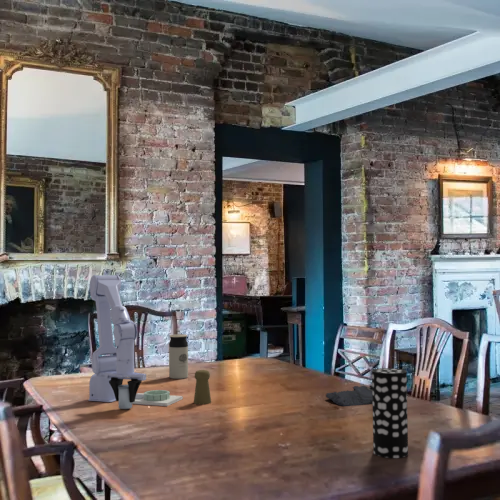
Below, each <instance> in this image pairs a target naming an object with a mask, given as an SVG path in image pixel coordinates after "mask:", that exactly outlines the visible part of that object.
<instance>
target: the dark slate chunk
mask: <svg viewBox="0 0 500 500" xmlns="http://www.w3.org/2000/svg"><path fill="white" fill-rule="evenodd" d="M325 397H326V398H327V399H328V400H330V401H332V402H333V403H334V404H336V405H337V406H340V407H353V406H355V407H356V406H364V405H365V406H366V405H373V400H372V384H371V385H369V386H365V385H361V386H358V385H354V386H353V387H352V390H342V391H338V392H337V391H334V392H327V393H326V394H325Z"/></svg>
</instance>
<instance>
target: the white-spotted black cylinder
mask: <svg viewBox="0 0 500 500" xmlns="http://www.w3.org/2000/svg"><path fill="white" fill-rule="evenodd" d="M407 375H408V373H407V370H405V369H401V368H394V367H393V368H391V367H390V368H388V367H387V368H386V367H384V368H383V367H382V368H374V369H372V370H371V382H372V383H371V385H372V400H373V404H372V439H373V440H372V444H373V445H372V446H373V447H372V448H373V449H372V452H373V455H376V456H377V457H381V458H385V459H400V458H401V459H402V458H405V457H407V456H408V455H409V436H408V435H409V433H408V430H409V429H408V427H409V426H408V424H409V423H408V386H407V385H408V384H407V383H408V379H407V378H408V377H407Z"/></svg>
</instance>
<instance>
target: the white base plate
mask: <svg viewBox="0 0 500 500" xmlns="http://www.w3.org/2000/svg"><path fill="white" fill-rule="evenodd" d="M170 393H171V392H170V391H169V390H164V389H155V390H154V389H152V390H148V391H147V390H146V391H145V392H142V393H139V392H137V393H136V397H135V401H134V402H132V405H144V406H145V405H147V406H160V407H169V406H170V405H172V404H175V403H177V402H179V401H181V400H183V399H184V398H183V396H182V395H171V394H170Z"/></svg>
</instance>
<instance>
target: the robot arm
mask: <svg viewBox="0 0 500 500" xmlns="http://www.w3.org/2000/svg"><path fill="white" fill-rule="evenodd" d="M121 279H122V278H121V277H120V276H119V274H109V275H107V274H106V275H105V274H100V275H96V274H93V275H92V276H91V278H90V281H89V292H90V298H91V300H92V301H95V308H96V319H97V320H96V321H97V329H98V330H97V331H98V344H99V347H98V348H97V349H96V350H95V351H93V353H92V355H91V358H92V359H91V369H92V373H93V374H92V375H91V377H90V378H89V385H88V386H89V389H88V390H89V396H88V399H87V401H89V402H104V403H113V402H119V389H118V386H119V385H123V382H124V380H128V381H127V385H128V387H129V400H130V402H131V403H132V402H134V401H135V397H136V394H137V393H138V390H139V387H140V385H141V384H142V382H143V381H147V373H142V372H136V371H135V340H137V337H138V328H137V324H136V323H135V322H134V321H133V320H132V319H131V317H130V315H129V312H128V309H127V307H125V306H124V305H122V301H121V296H120V292H121V288H122V280H121ZM112 324H113V326H114V328H113V326H112ZM113 338H114V339H113Z"/></svg>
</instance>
